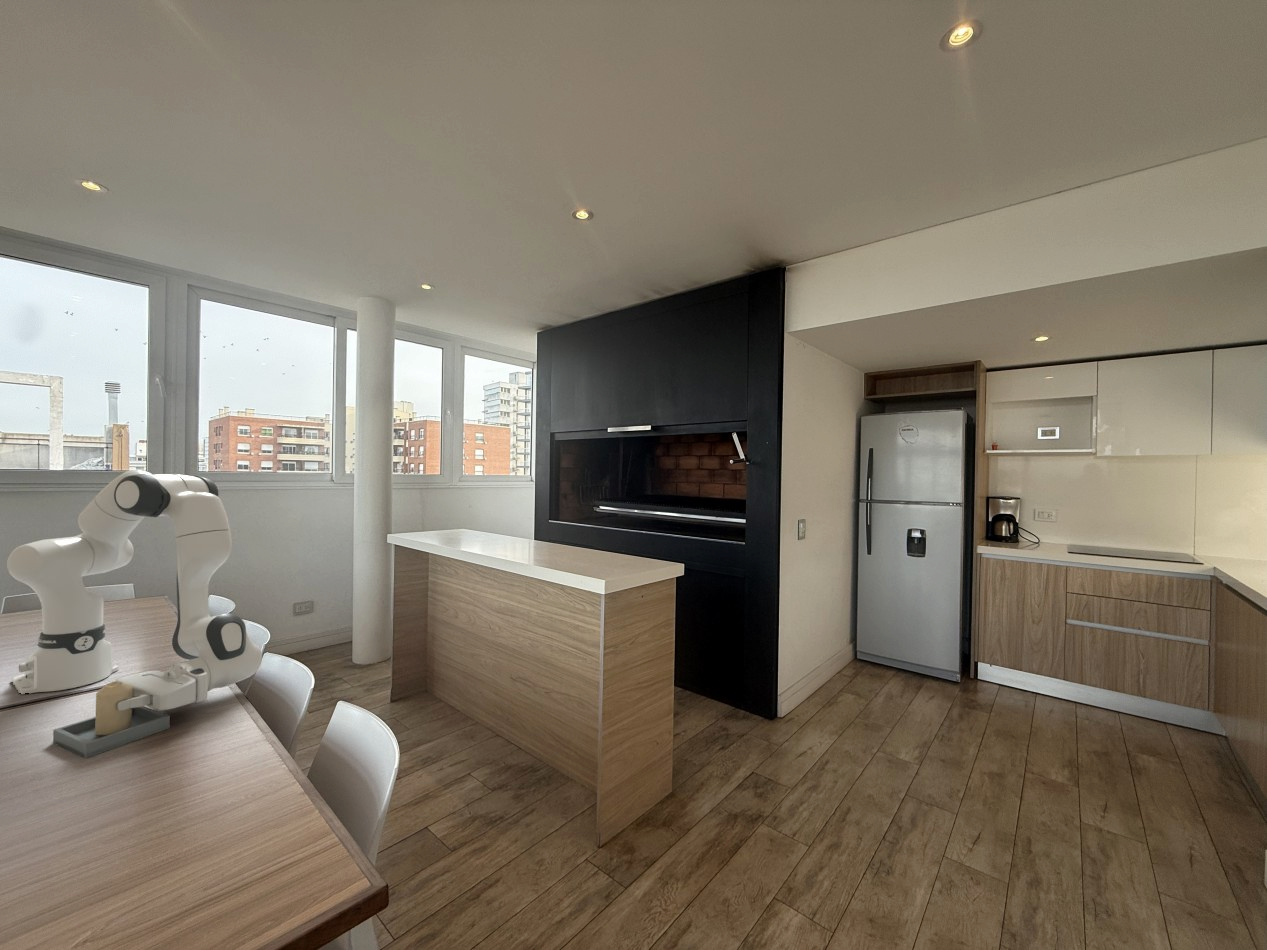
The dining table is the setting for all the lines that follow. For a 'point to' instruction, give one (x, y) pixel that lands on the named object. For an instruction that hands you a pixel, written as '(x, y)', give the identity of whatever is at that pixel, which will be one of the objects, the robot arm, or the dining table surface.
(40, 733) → the dining table surface
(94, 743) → the serving tray
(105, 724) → the candle
